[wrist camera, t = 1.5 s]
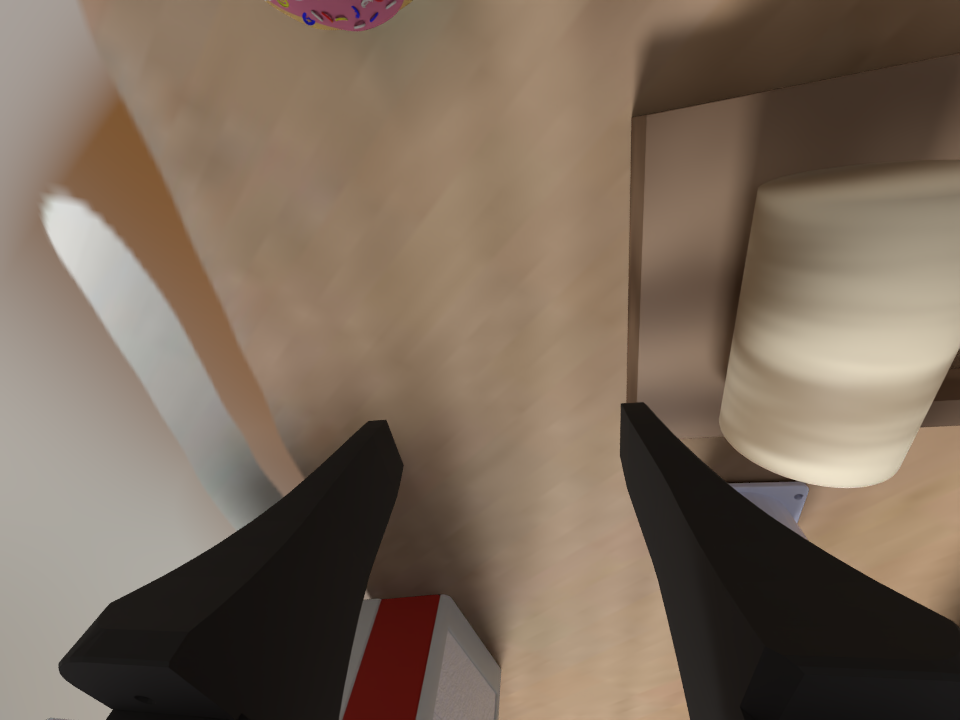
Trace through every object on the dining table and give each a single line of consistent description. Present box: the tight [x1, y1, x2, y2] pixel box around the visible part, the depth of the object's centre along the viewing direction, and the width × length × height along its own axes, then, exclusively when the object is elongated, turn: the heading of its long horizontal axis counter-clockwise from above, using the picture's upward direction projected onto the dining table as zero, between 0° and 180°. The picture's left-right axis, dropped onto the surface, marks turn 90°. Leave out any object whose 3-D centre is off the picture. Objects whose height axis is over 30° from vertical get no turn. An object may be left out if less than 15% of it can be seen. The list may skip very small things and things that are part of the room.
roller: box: [719, 160, 960, 488], centre depth 14 cm, size 10×6×6 cm, turn 10°
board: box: [627, 53, 960, 439], centre depth 16 cm, size 16×25×2 cm, turn 100°
